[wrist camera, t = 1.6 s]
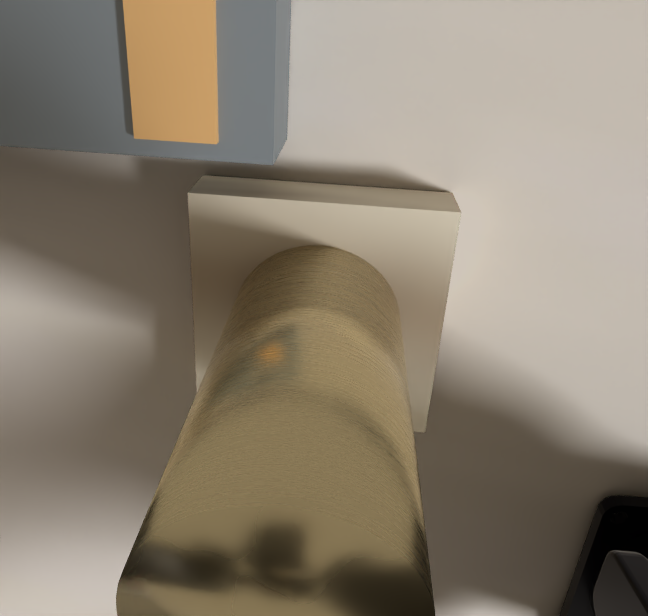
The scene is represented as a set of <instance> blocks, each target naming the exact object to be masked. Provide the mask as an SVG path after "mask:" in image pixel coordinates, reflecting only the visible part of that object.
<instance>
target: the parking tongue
mask: <svg viewBox="0 0 648 616" xmlns="http://www.w3.org/2000/svg"><path fill="white" fill-rule="evenodd" d="M188 213H189V235H190V257H191V280H192V302H193V324H194V347H195V369H196V391H198V389H199V387H200V384H201V382H202V379H203V377H204V375H205V372H206V370H207V367H208V365H209V363H210V360H211V358H212V355H213V353H214V351H215V348H216V346H217V343H218V341H219V339H220V336H221V334H222V331H223V329H224V326H225V324H226V322H227V319H228V317H229V314H230V312H231V310H232V307H233V305H234V302H235V300H236V298H237V295H238V293H239V290H240V288H241V286H242V285H243V283H244V281H245V279H246V278H247V277H248V276H249V274H250V273H251V272H252V271H253V270H254V269H255V268H256V267H257V266H258V265H259V264H260V263H262V262H263V261H264V260H266V259H267V258H269V257H271V256H273V255H275V254H276V253H279V252H281V251H284V250H287V249H290V248H294V247H299V246H308V245H322V246H329V247H335V248H339V249H342V250H345V251H348V252H350V253H353V254H355V255H357V256H359V257H361V258H362V259H364V260H366V261H367V262H368V263H370V264H371V265H372V266H374V267H375V268H376V269H377V270H378V271H379V272H380V273H381V274H382V275H383V277H384V278H385V279H386V280H387V282H388V283H389V285H390V287H391V288H392V290H393V292H394V294H395V297H396V299H397V303H398V307H399V311H400V320H401V328H402V337H403V345H404V354H405V362H406V371H407V379H408V388H409V396H410V405H411V413H412V422H413V430H414V432H424V433H425V430H426V424H427V418H428V412H429V406H430V400H431V394H432V388H433V382H434V376H435V369H436V363H437V357H438V351H439V345H440V339H441V333H442V327H443V321H444V315H445V309H446V303H447V297H448V290H449V284H450V278H451V272H452V266H453V260H454V254H455V248H456V242H457V236H458V230H459V224H460V217H461V211H460V209H459V206H458V204H457V202H456V200H455V198H454V195H453V193H448V192H434V191H420V190H406V189H392V188H378V187H364V186H350V185H335V184H321V183H307V182H293V181H279V180H265V179H251V178H237V177H223V176H209V175H203V176H202V177H201V178H200V179H199V181H198V182H197V183H196V184H195V185H194V186H193V187H192V188H191V190H190V191H189V192H188Z"/></svg>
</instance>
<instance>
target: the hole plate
mask: <svg viewBox="0 0 648 616" xmlns="http://www.w3.org/2000/svg"><path fill="white" fill-rule="evenodd" d="M290 19H291V0H0V146H9V147H23V148H37V149H51V150H65V151H80V152H94V153H108V154H122V155H136V156H151V157H165V158H179V159H193V160H207V161H221V162H236V163H250V164H264V165H274V163H275V161H276V159H277V157H278V155H279V153H280V151H281V149H282V147H283V146H284V144H285V142H286V140H287V122H288V87H289V53H290Z"/></svg>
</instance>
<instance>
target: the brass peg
mask: <svg viewBox="0 0 648 616" xmlns="http://www.w3.org/2000/svg"><path fill="white" fill-rule="evenodd" d="M116 607H117V615H118V616H435V609H434V601H433V592H432V584H431V575H430V566H429V558H428V549H427V541H426V532H425V524H424V515H423V507H422V498H421V490H420V481H419V473H418V464H417V456H416V447H415V439H414V430H413V422H412V413H411V405H410V396H409V388H408V379H407V371H406V362H405V354H404V345H403V337H402V328H401V320H400V311H399V307H398V303H397V299H396V297H395V294H394V292H393V290H392V288H391V287H390V285H389V283H388V282H387V280H386V279H385V278H384V277H383V275H382V274H381V273H380V272H379V271H378V270H377V269H376V268H375V267H374V266H372V265H371V264H370V263H368V262H367V261H366V260H364V259H362V258H361V257H359V256H357V255H355V254H353V253H350V252H348V251H345V250H342V249H339V248H335V247H329V246H322V245H308V246H299V247H294V248H290V249H287V250H284V251H281V252H279V253H276V254H275V255H273V256H271V257H269V258H267V259H266V260H264V261H263V262H262V263H260V264H259V265H258V266H257V267H256V268H255V269H254V270H253V271H252V272H251V273H250V274H249V276H248V277H247V278H246V279H245V281H244V283H243V285H242V286H241V288H240V290H239V293H238V295H237V298H236V300H235V302H234V305H233V307H232V310H231V312H230V314H229V317H228V319H227V322H226V324H225V326H224V329H223V331H222V334H221V336H220V339H219V341H218V343H217V346H216V348H215V351H214V353H213V355H212V358H211V360H210V363H209V365H208V367H207V370H206V372H205V375H204V377H203V379H202V382H201V384H200V387H199V389H198V391H197V394H196V396H195V399H194V401H193V403H192V406H191V408H190V411H189V413H188V415H187V418H186V420H185V423H184V425H183V427H182V430H181V432H180V435H179V437H178V439H177V442H176V444H175V447H174V449H173V452H172V454H171V456H170V459H169V461H168V464H167V466H166V468H165V471H164V473H163V476H162V478H161V480H160V483H159V485H158V488H157V490H156V492H155V495H154V497H153V500H152V502H151V504H150V507H149V509H148V512H147V514H146V516H145V519H144V521H143V524H142V526H141V528H140V531H139V533H138V536H137V538H136V540H135V543H134V545H133V548H132V550H131V553H130V555H129V557H128V560H127V562H126V565H125V567H124V569H123V572H122V575H121V577H120V580H119V583H118V588H117V595H116Z"/></svg>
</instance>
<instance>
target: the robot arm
mask: <svg viewBox="0 0 648 616" xmlns="http://www.w3.org/2000/svg"><path fill="white" fill-rule="evenodd" d="M616 512H619V513H617V514H614V513H616ZM560 616H648V498H644V497H632V496H620V495H618V496H610V497H607V498H605V499H604V500H602V501H601V502H600V504H599V505H598V507H597V510H596V513H595V515H594V518H593V521H592V524H591V527H590V530H589V533H588V536H587V539H586V541H585V544H584V547H583V550H582V553H581V556H580V559H579V562H578V564H577V567H576V570H575V573H574V576H573V579H572V582H571V585H570V587H569V590H568V593H567V596H566V599H565V602H564V605H563V608H562V610H561V613H560Z"/></svg>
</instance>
